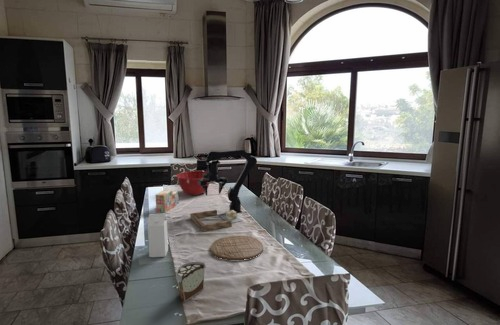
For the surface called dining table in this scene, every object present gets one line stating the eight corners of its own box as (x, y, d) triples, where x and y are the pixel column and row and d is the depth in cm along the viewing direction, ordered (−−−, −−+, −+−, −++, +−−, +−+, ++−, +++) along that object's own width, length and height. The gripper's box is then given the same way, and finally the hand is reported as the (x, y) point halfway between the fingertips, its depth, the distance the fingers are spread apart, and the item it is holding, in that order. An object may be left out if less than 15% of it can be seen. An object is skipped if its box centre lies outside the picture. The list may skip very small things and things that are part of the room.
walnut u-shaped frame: (216, 214, 199) (216, 209, 198) (231, 226, 178) (231, 221, 177) (190, 218, 191) (190, 213, 191) (203, 231, 170) (203, 226, 170)
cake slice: (194, 282, 119) (193, 257, 117) (206, 287, 115) (205, 262, 114) (169, 298, 109) (167, 271, 107) (181, 304, 105) (180, 276, 104)
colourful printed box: (170, 203, 223) (169, 186, 221) (178, 203, 222) (178, 187, 220) (156, 212, 203) (155, 194, 201) (165, 213, 201) (164, 194, 200)
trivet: (270, 257, 140) (270, 253, 139) (215, 265, 133) (215, 261, 132) (254, 236, 163) (254, 233, 163) (206, 242, 156) (206, 238, 156)
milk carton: (152, 250, 146) (150, 211, 143) (168, 250, 147) (166, 211, 144) (149, 257, 139) (147, 217, 136) (165, 257, 140) (163, 216, 137)
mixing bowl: (210, 197, 237) (209, 178, 235) (172, 197, 238) (172, 178, 235) (214, 188, 265) (214, 171, 263) (181, 188, 266) (180, 171, 263)
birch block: (233, 216, 194) (233, 210, 193) (236, 218, 189) (236, 212, 189) (225, 217, 192) (225, 211, 191) (228, 219, 187) (228, 213, 187)
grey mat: (232, 213, 199) (232, 213, 199) (243, 220, 186) (243, 220, 186) (219, 216, 195) (219, 215, 195) (229, 223, 182) (229, 222, 182)
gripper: (220, 167, 209) (220, 190, 212) (194, 169, 200) (194, 193, 202) (228, 170, 200) (228, 193, 202) (200, 172, 190) (201, 197, 193)
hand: (213, 194), depth 200 cm, fingers open, 9 cm apart
